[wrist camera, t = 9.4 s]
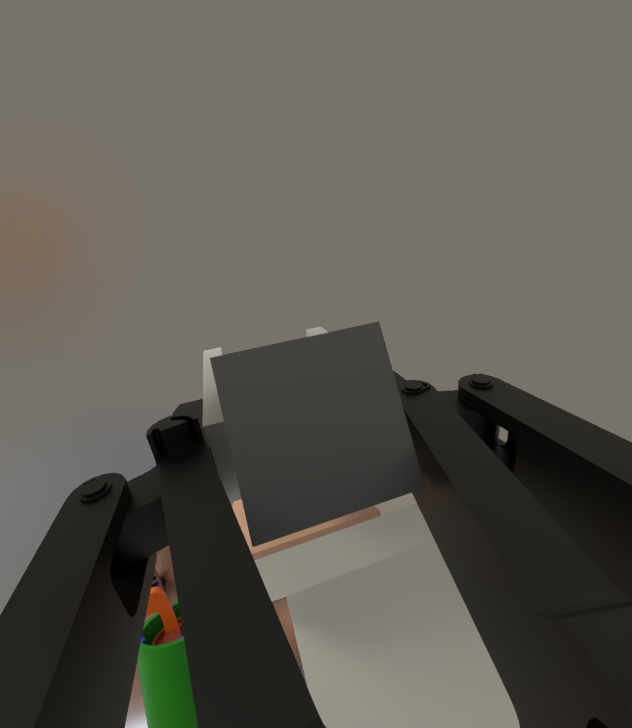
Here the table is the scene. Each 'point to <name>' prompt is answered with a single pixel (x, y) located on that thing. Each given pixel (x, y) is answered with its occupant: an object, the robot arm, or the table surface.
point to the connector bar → (315, 429)
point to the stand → (382, 623)
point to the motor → (165, 666)
